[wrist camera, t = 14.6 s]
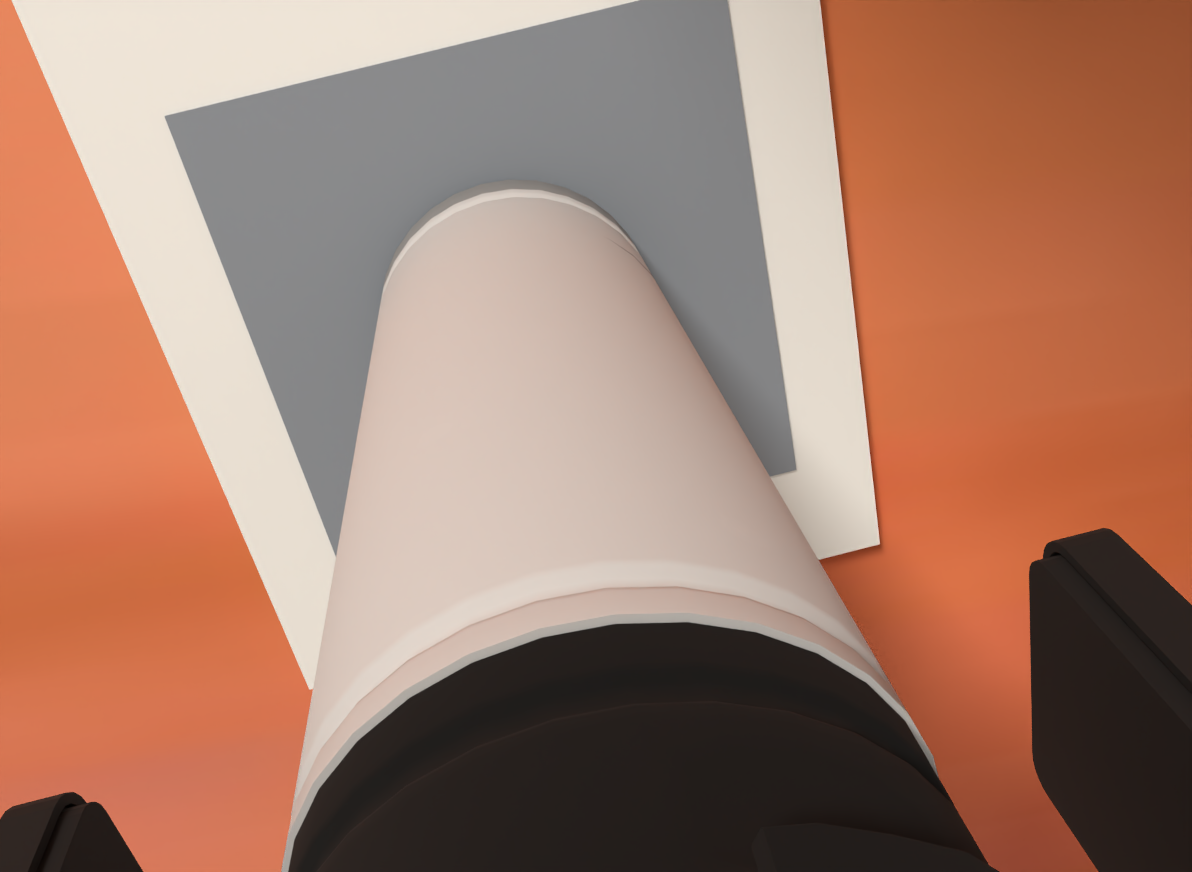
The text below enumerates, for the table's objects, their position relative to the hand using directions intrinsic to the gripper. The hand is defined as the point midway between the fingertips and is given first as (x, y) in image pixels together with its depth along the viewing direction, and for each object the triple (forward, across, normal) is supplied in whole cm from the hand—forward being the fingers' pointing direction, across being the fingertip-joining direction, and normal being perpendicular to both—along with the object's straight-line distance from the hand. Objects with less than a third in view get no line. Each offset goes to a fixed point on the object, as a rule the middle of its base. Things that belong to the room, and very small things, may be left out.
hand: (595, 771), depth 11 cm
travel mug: (+16, 0, +1) cm, 16 cm away
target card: (+16, 0, +1) cm, 16 cm away
